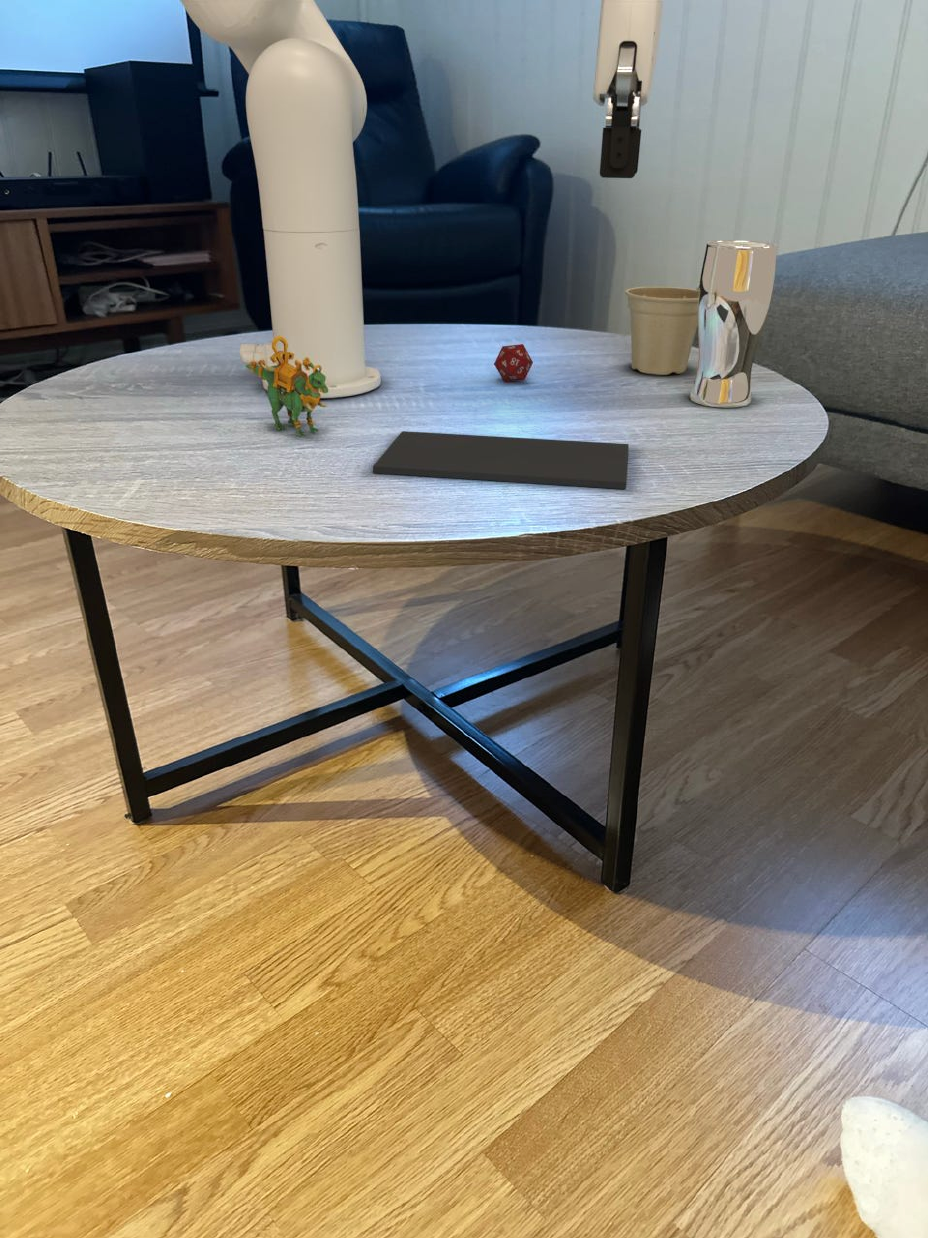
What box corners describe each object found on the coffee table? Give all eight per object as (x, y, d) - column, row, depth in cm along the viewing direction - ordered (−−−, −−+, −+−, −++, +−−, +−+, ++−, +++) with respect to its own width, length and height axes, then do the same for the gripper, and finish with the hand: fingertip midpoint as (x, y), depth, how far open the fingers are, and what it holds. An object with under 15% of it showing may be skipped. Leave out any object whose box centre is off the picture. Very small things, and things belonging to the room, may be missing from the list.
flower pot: (689, 361, 110) (698, 285, 106) (710, 379, 101) (721, 298, 97) (612, 361, 109) (618, 285, 105) (626, 379, 101) (634, 298, 97)
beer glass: (757, 411, 89) (783, 248, 82) (685, 407, 91) (705, 245, 84) (752, 394, 95) (776, 240, 88) (685, 390, 97) (703, 238, 90)
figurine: (316, 444, 79) (309, 348, 75) (237, 418, 86) (227, 329, 82) (343, 437, 81) (338, 343, 77) (264, 412, 88) (255, 325, 84)
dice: (489, 378, 101) (489, 341, 99) (527, 376, 102) (528, 340, 100) (497, 386, 98) (498, 348, 96) (537, 384, 99) (538, 346, 97)
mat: (372, 473, 72) (372, 465, 72) (402, 437, 81) (402, 430, 81) (625, 489, 69) (626, 481, 69) (628, 450, 78) (628, 443, 78)
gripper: (600, -27, 87) (586, 172, 95) (587, -62, 72) (572, 178, 80) (679, -28, 85) (658, 173, 94) (684, -64, 70) (659, 180, 78)
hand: (619, 175), depth 87 cm, fingers open, 9 cm apart
